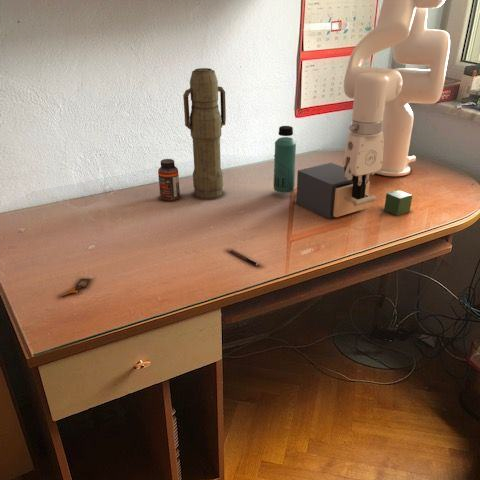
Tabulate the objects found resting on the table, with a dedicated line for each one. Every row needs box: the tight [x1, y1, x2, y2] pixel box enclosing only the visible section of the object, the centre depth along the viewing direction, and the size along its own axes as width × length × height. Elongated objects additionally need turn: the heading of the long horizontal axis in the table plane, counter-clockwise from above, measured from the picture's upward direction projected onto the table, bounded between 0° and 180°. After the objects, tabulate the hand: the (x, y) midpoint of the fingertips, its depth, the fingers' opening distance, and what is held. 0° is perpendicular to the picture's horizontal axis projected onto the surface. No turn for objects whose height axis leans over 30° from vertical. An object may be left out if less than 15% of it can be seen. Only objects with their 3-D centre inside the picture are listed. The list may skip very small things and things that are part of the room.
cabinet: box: [295, 162, 351, 219], centre depth 152 cm, size 15×13×10 cm
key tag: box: [61, 278, 91, 297], centre depth 116 cm, size 8×3×1 cm, turn 162°
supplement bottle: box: [157, 158, 181, 202], centre depth 158 cm, size 6×6×11 cm
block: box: [383, 189, 413, 217], centre depth 150 cm, size 5×5×5 cm
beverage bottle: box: [273, 125, 297, 194], centre depth 158 cm, size 6×7×20 cm
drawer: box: [332, 180, 377, 218], centre depth 149 cm, size 18×11×8 cm, turn 33°
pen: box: [228, 249, 260, 267], centre depth 127 cm, size 11×1×1 cm, turn 40°
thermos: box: [182, 67, 227, 200], centre depth 154 cm, size 9×12×35 cm
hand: (357, 197), depth 144 cm, fingers closed
